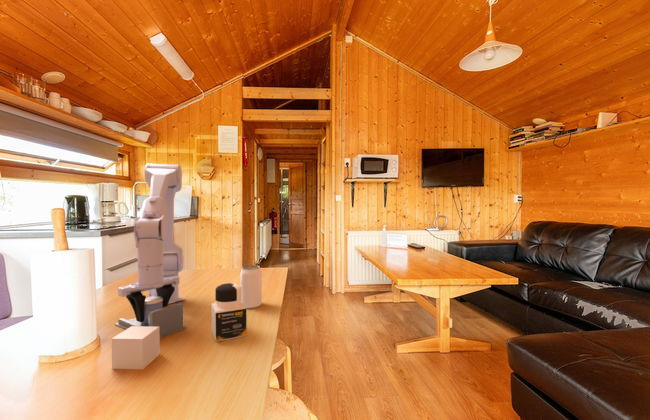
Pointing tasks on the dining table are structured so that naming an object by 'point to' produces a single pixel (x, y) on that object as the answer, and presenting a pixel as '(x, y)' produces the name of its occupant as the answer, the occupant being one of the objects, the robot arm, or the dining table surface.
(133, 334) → the pale pink cube
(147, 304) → the jar
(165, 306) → the plate
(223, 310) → the medicine bottle
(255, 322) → the dining table surface
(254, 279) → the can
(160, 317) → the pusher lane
